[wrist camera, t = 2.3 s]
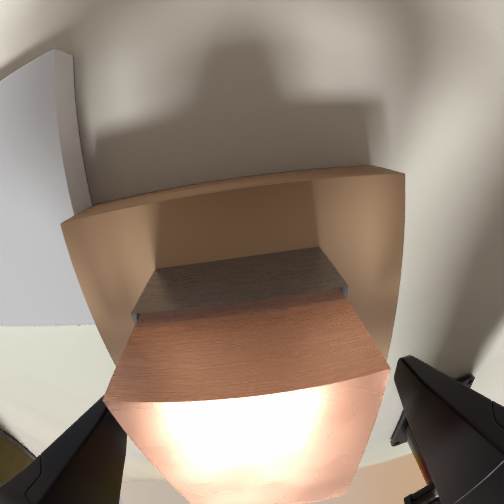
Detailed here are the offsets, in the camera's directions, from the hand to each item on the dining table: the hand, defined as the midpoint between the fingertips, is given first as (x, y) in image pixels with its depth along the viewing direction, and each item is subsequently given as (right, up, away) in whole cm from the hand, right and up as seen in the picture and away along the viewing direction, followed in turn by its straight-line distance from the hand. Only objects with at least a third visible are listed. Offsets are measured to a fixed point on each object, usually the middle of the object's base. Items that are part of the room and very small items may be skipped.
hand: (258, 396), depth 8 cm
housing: (0, +1, +2) cm, 2 cm away
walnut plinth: (0, +2, +4) cm, 5 cm away
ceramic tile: (-12, +6, +2) cm, 14 cm away
